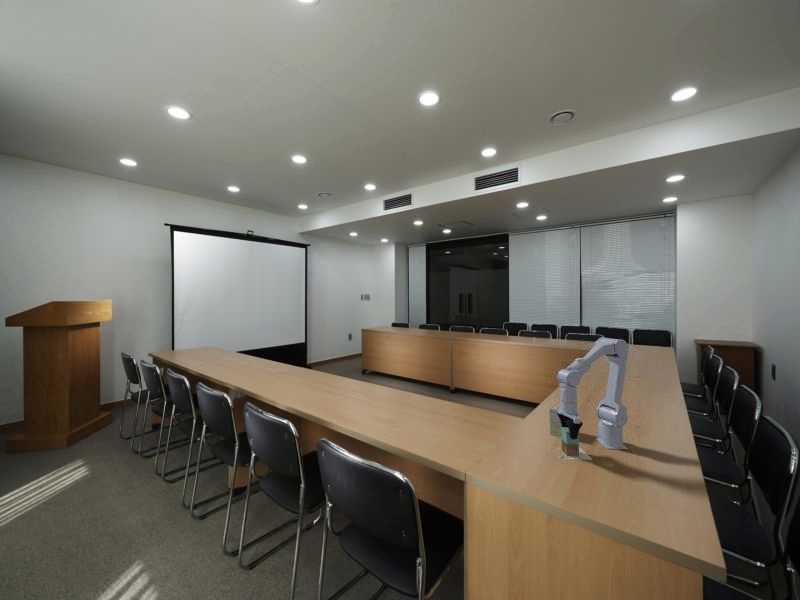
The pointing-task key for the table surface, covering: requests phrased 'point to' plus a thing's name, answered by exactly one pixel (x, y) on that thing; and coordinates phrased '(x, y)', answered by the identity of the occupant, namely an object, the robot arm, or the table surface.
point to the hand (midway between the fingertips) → (569, 435)
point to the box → (555, 421)
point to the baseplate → (581, 456)
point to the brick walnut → (570, 449)
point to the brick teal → (568, 436)
